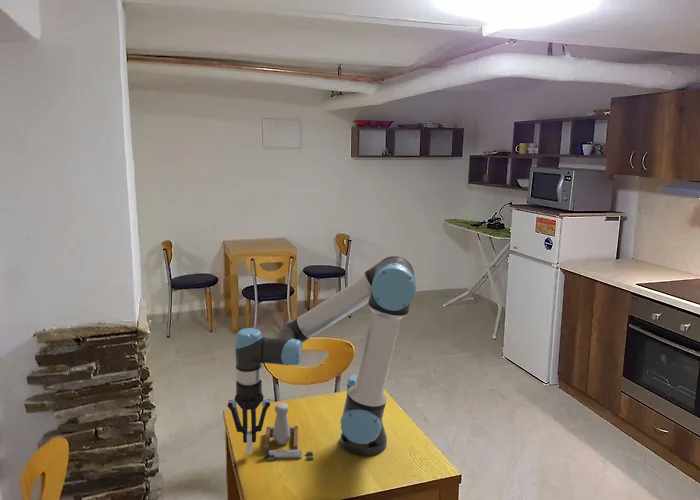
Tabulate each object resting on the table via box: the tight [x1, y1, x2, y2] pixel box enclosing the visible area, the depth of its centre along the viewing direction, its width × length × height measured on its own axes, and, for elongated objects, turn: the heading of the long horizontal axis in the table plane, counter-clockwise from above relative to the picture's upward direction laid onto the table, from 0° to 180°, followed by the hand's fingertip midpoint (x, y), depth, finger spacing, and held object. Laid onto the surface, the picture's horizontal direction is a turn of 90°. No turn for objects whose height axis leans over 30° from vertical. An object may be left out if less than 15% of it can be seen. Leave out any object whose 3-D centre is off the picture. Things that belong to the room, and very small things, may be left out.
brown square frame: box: [263, 425, 314, 462], centre depth 175 cm, size 15×16×2 cm
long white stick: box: [263, 445, 303, 459], centre depth 168 cm, size 12×1×3 cm, turn 95°
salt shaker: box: [272, 402, 292, 446], centre depth 176 cm, size 6×6×13 cm
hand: (249, 451), depth 167 cm, fingers closed
